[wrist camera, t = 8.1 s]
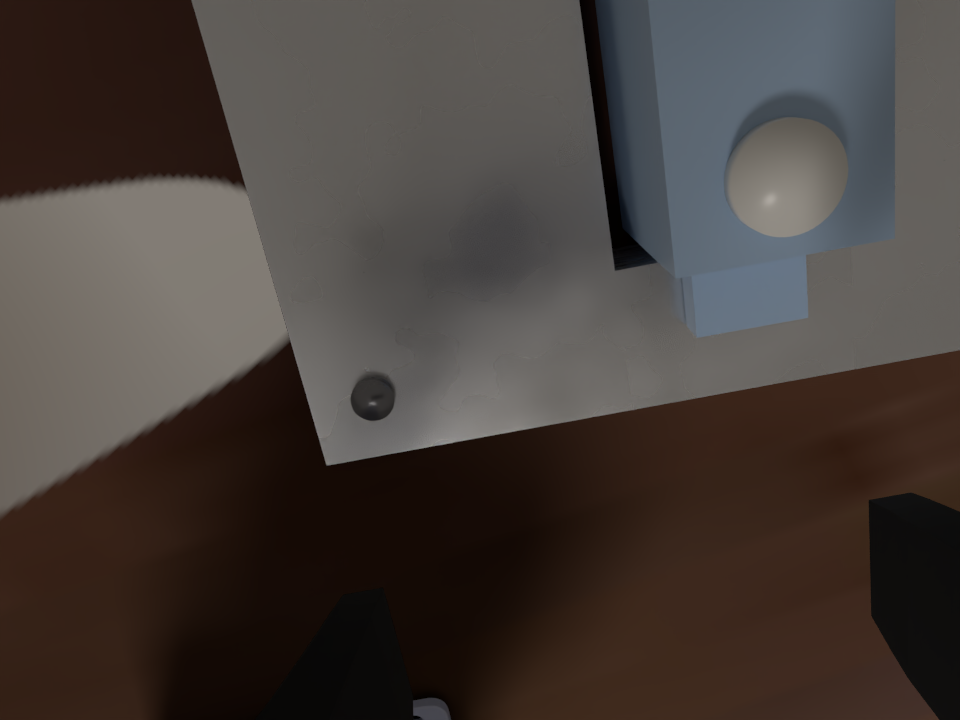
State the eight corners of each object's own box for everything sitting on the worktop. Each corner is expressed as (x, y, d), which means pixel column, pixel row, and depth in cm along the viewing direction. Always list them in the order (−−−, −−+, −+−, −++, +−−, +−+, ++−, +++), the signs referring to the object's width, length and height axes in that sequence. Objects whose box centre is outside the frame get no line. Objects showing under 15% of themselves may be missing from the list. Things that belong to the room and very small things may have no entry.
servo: (631, 305, 20) (691, 386, 15) (576, -150, 16) (629, -250, 11) (790, 276, 20) (906, 348, 14) (768, -190, 16) (910, -309, 11)
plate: (338, 429, 21) (325, 469, 18) (165, -190, 16) (122, -229, 14) (1110, 287, 20) (1186, 312, 18) (1177, -411, 15) (1292, -489, 13)
